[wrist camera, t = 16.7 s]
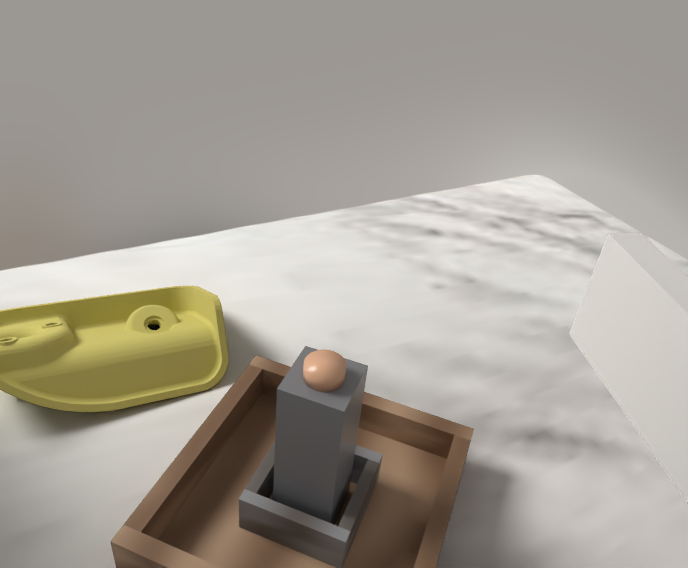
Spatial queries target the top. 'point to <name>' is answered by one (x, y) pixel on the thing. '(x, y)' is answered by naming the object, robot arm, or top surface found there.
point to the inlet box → (285, 522)
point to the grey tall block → (317, 432)
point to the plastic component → (113, 349)
